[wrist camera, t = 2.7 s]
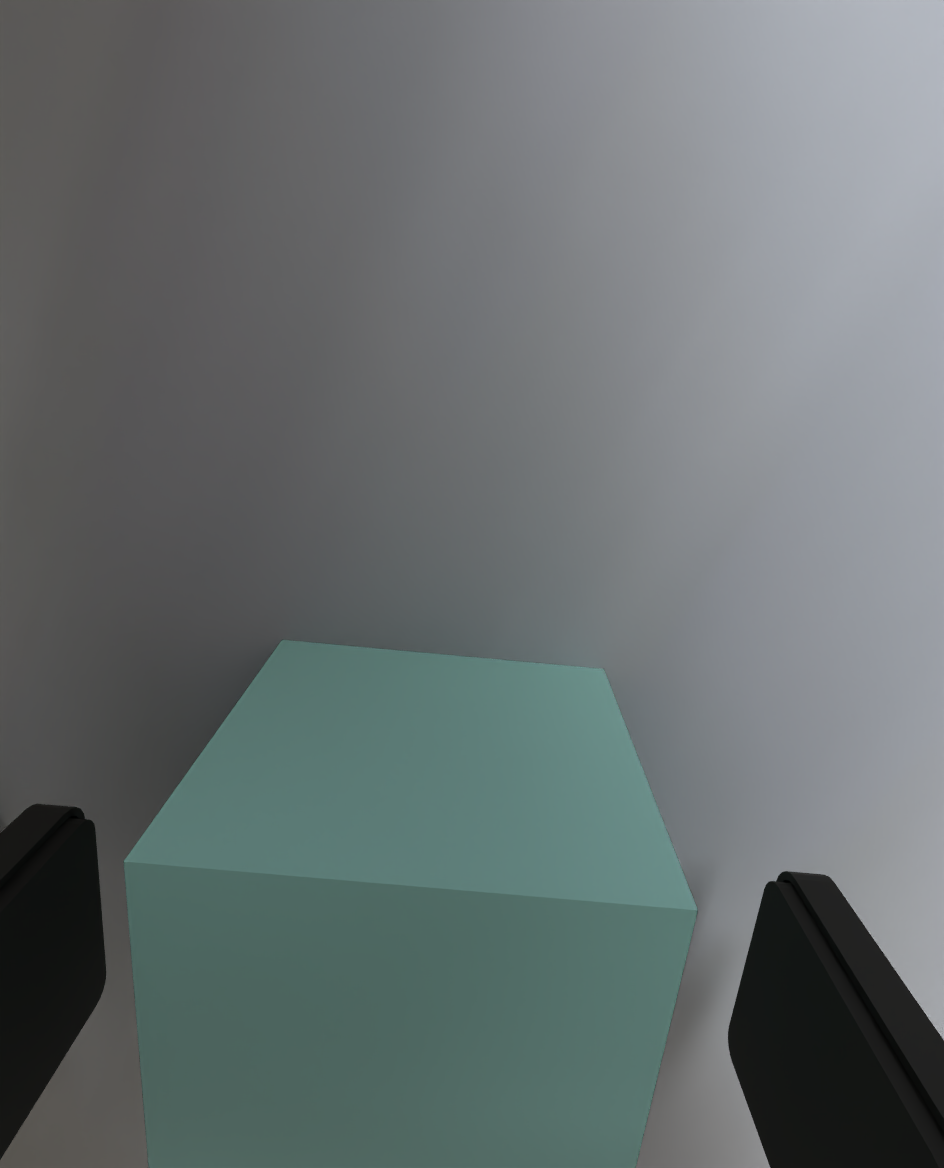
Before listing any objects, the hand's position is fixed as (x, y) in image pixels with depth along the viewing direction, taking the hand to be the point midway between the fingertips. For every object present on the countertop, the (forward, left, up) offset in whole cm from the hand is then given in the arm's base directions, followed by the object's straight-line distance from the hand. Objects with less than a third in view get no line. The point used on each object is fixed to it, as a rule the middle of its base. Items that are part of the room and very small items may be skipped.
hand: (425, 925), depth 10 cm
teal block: (-1, 0, -2) cm, 2 cm away
